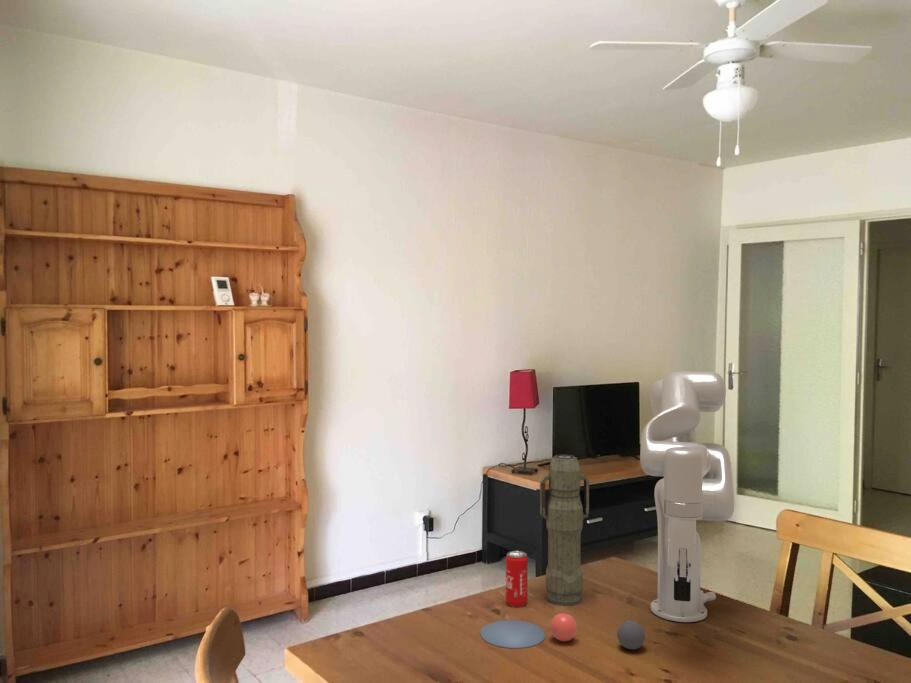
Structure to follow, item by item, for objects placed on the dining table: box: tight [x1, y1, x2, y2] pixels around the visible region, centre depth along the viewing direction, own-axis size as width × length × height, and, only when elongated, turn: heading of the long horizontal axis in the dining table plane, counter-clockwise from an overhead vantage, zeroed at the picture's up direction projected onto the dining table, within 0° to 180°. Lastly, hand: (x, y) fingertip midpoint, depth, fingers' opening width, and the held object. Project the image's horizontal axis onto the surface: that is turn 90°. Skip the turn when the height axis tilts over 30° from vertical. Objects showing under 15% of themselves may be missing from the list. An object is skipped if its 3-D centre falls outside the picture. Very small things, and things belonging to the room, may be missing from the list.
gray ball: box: [616, 620, 646, 650], centre depth 152 cm, size 6×6×6 cm
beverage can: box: [505, 550, 529, 608], centre depth 176 cm, size 5×5×12 cm
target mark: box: [480, 619, 546, 649], centre depth 159 cm, size 14×14×1 cm
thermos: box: [539, 454, 590, 606], centre depth 179 cm, size 9×12×35 cm
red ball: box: [550, 612, 578, 642], centre depth 156 cm, size 6×6×6 cm
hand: (682, 599), depth 149 cm, fingers closed
